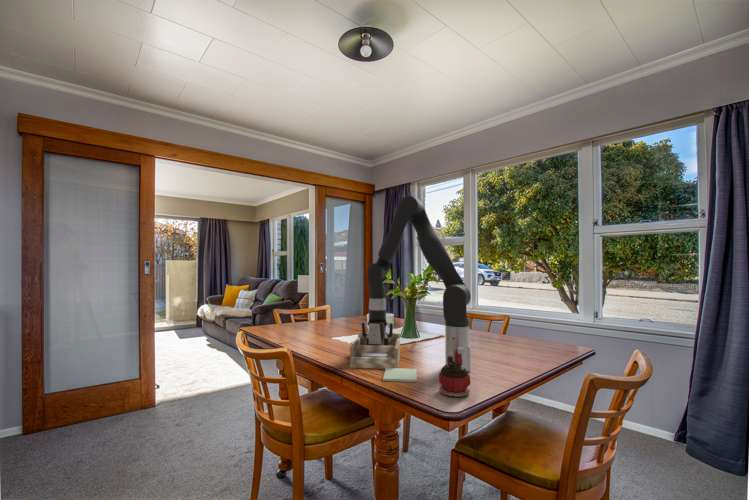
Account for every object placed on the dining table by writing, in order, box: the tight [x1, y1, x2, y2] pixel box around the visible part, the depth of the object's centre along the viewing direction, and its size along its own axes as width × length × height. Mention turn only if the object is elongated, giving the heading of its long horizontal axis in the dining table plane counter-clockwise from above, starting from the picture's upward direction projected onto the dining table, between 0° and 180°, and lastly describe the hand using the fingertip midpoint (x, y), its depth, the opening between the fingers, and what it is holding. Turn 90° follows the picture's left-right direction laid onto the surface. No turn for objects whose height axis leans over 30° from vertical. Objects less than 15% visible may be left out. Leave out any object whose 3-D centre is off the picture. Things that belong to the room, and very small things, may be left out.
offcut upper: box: [361, 353, 388, 358], centre depth 146 cm, size 10×4×2 cm, turn 76°
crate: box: [349, 331, 401, 370], centre depth 152 cm, size 19×21×10 cm
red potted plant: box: [438, 337, 471, 397], centre depth 115 cm, size 11×9×18 cm
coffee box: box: [368, 322, 387, 346], centre depth 157 cm, size 9×6×16 cm
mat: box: [382, 367, 418, 383], centre depth 133 cm, size 12×13×1 cm
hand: (377, 346), depth 156 cm, fingers closed on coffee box, 6 cm apart
